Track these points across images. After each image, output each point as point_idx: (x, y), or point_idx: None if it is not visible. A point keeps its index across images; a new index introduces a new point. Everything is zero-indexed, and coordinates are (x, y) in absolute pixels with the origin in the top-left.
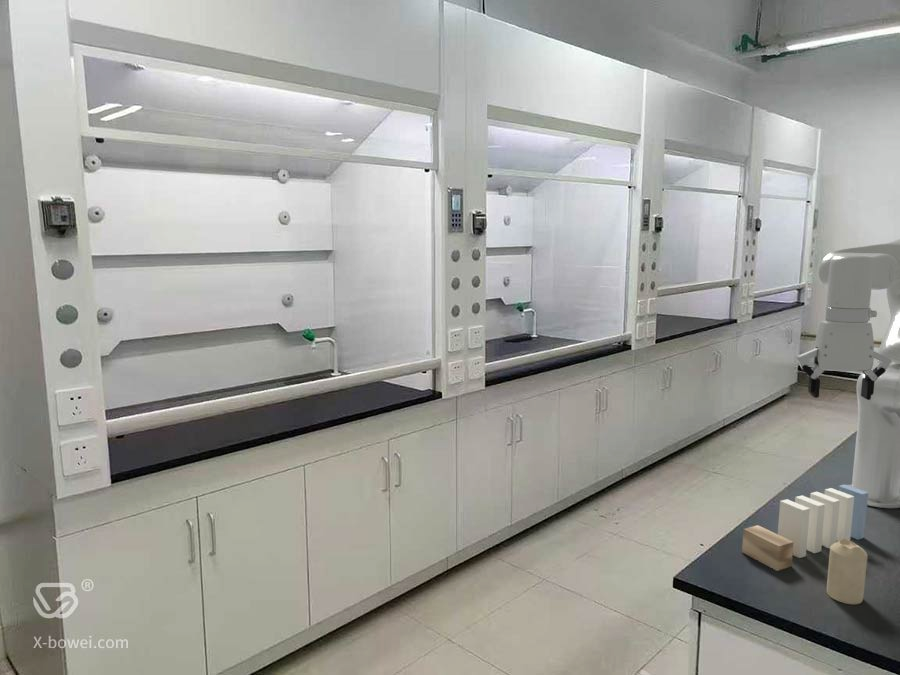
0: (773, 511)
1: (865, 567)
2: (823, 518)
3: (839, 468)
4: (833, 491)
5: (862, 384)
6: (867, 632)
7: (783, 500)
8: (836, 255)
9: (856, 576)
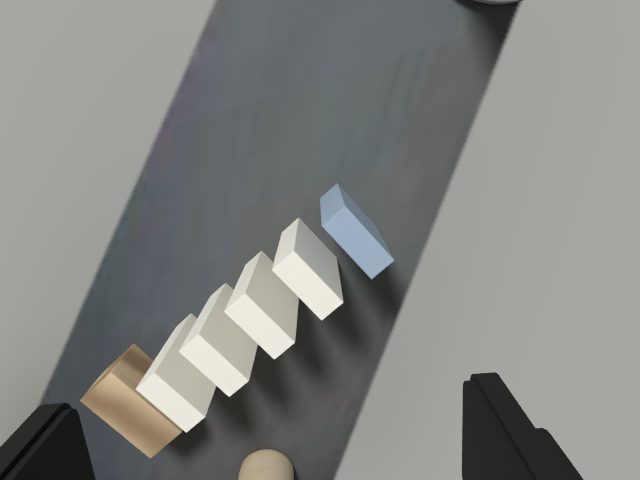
0: (188, 119)
1: None
2: (253, 360)
3: None
4: (293, 279)
5: (507, 471)
6: None
7: (144, 384)
8: None
9: None
